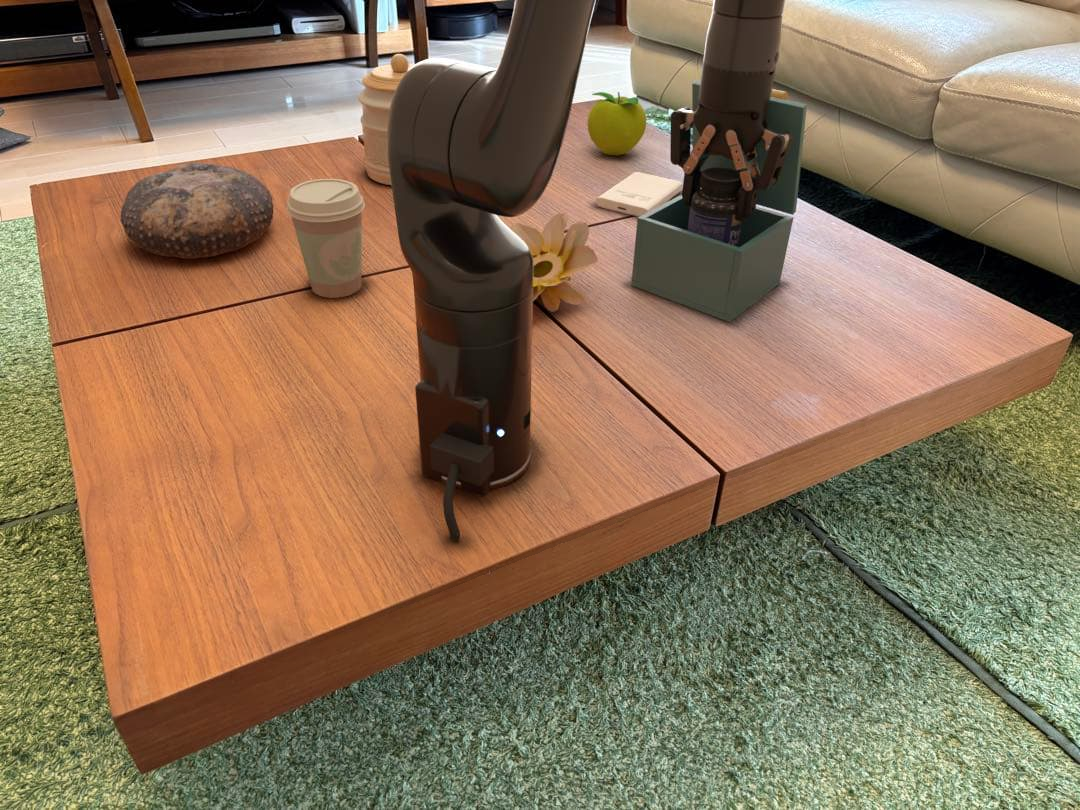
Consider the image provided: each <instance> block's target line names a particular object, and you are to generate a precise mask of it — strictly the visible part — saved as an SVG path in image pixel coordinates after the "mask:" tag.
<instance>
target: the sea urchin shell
mask: <svg viewBox="0 0 1080 810" xmlns="http://www.w3.org/2000/svg"><path fill="white" fill-rule="evenodd" d="M274 206H275V205H274V202H273V196H272V194H271V192H270V190H269V189H268V188H267V187H266V186H265V184H264V183H263V182H261V181H260V179H259V178H256V177H255V176H254V175H253V174H250V173H248V172H247V171H244V170H242V169H237V168H235V167H232V166H227V165H224V166H223V165H222V166H221V165H218V164H214V163H200V162H190V163H187V164H181V165H178V166H176V167H173V168H171V169H168V170H166V171H165V170H164V171H159V172H157V173H153V174H151V175H148V176H145V177H144V178H143V177H142V179H140V180H139V181H137V182H136V183H135V184H134V185H132V186H131V188H129V190H128V191H127V193H126V196H125V198H124V202H123V205H122V206H121V210H120V223H121V224H122V227H123V229H124V233H125V234H126V235H127V237H128V239H129V240H130V242H133V243H134V244H135V245H136V247H138V248H141V249H143V250H144V251H146V252H150V253H153V254H155V255H157V256H164V257H167V258H169V257H175V258H181V259H200V258H209V257H210V258H211V257H216V256H218V255H222V254H224V253H227V252H228V253H229V252H235V251H238V250H240V249H243V248H245V247H246V246H247V245H249V244H251V243H253V242H254V241H256V240H258V239H259V238H260V237H261V236H262V235H263V234H265V232H266V231H267V230H268V229H269V227H270V225H271V224H272V220H273V218H274V208H275V207H274Z"/></svg>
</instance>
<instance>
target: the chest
mask: <svg viewBox="0 0 1080 810" xmlns="http://www.w3.org/2000/svg"><path fill="white" fill-rule="evenodd" d="M684 202H685V199H683V197H682V194H680V195H678V196H676V197H673V198H671V199H670V200H669V201H668V202H666V203H665V204H663V205H661V206H659V207H657V208H655V209H653V210H651V211H650V212H648V213H646V214H644V215H642V216H640V217H638V216H637V220H636V230H635V240H634V241H635V242H634V253H633V261H632V272H631V282H630V283H631V286H632V287H635V288H636V289H640V290H642V291H644V292H645V291H646V292H648V293H650V294H653V295H655V296H659V297H661V298H664V299H666V300H669V301H672V302H674V303H676V304H679V305H682V306H684V307H687V308H690V309H693V310H696V311H698V312H701V313H704V314H706V315H709V316H712V317H714V318H717V319H719V320H722V321H725V322H727V323H731V322H733V321H734V320H735V319H736V318H737V317H739V316H740V315H741V314H743V313H744V312H745V311H746V310H748V309H749V308H750V307H752V306H753V305H754V304H756V303H757V302H758V301H759V300H761V299H762V298H764V297H765V296H766V295H767V294H768V293H770V292H771V291H773V290H774V289H775V288H776V287H778V286H779V285H780V284H781V279H782V275H783V269H784V264H785V259H786V255H787V250H788V246H789V242H790V238H791V237H790V236H791V232H792V228H793V227H792V226H793V222H794V216H790V215H787V214H784V213H780V212H777V211H774V210H770V209H768V208H767V209H766V208H765V207H760V206H758V205H756V209H755V212H754V213H753V215H751V216H750V217H749V218H748V219H746V220H744V221H743V222H742V224H741V230H740V236H739V242H738V247H736V246H733V245H730V244H727V243H724V242H721V241H718V240H714V239H711V238H708V237H705V236H702V235H699V234H696V233H693V232H690V231H687V230H688V223H689V214H690V208H691V206H689V205H686V204H685V203H684Z"/></svg>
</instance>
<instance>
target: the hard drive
mask: <svg viewBox="0 0 1080 810" xmlns="http://www.w3.org/2000/svg"><path fill="white" fill-rule="evenodd" d="M682 190H683V181H680V180H677V179H676V180H675V179H672V178H667V177H663V176H658V175H653V174H649V173H645V172H641V171H640V172H639V171H634V172H633V173H631V174H630V175H628V176H627V177H625V178H624V179H622V180H621V181H620V182H618V183H617V184H615V185H614V186H612V187H610V189H608V190H607V191H605V192H603V193H602V194H601V195H599V196H598V197H596V206H597V207H599V208H602V209H606V210H610V211H613V212H617V213H618V212H619V213H622V214H626V215H630V216H634V217H637V218H638V217H640V216H642V215H644V214H646V213H648V212H650V211H651V210H653V209H655V208H657V207H659V206H661V205H663V204H665V203H667V202H668V201H670V200H672V199H674V198H675V196H677V195H678V194H679V193H680V192H682Z"/></svg>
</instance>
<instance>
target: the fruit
mask: <svg viewBox="0 0 1080 810" xmlns="http://www.w3.org/2000/svg"><path fill="white" fill-rule="evenodd" d="M591 95H592V96H600V97H603V98H604V99H600V100H598V101H597V102H595V103H594V104H593V105H592V107H591V108H590V110H589V113H588V115H587V131H588V135H589V137H590V140H591V141H592V143H594V145H595V146H596V147H597V148H598V149H599V150H600V151H601V152H602V153H604V154H605V155H607V156H617V157H618V156H621V155H625V154H627V153H629V152H631V151H632V150H633V149H635V147H636V146H637V145H638V143H640V141H641V139H642V138H643V136H644V135H645V132H646V128H647V116H646V112H645V109H644V108H643V106H642V104H641V103H640V101H639V98H638V97H636V96H633V97H627V96H621V95H620V92H619V91H617V96H616V97H614V95H612V94H611V93H608V92H604V91H603V92H602V91H598V92H594V93H592V94H591Z"/></svg>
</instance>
